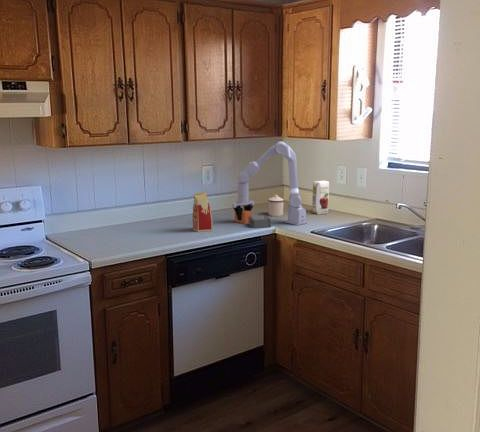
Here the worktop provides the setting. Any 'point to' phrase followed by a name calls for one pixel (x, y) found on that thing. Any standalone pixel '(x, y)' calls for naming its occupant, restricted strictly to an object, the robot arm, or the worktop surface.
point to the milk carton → (201, 213)
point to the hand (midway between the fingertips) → (243, 219)
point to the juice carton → (320, 197)
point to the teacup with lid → (275, 206)
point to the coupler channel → (259, 222)
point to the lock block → (244, 216)
